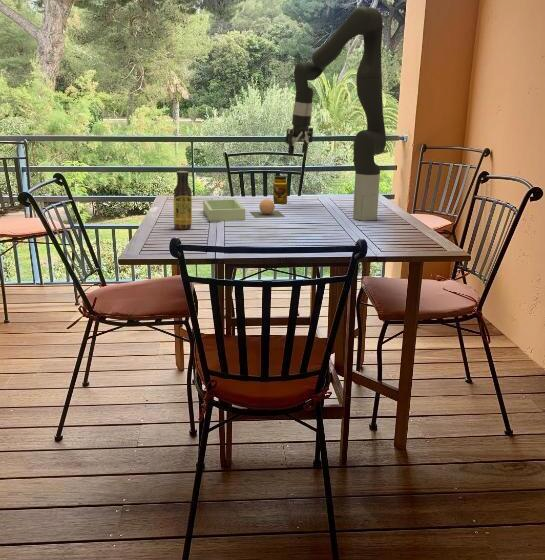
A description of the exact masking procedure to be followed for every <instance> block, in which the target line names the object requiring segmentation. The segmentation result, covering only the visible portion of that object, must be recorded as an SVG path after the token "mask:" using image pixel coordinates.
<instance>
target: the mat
mask: <svg viewBox="0 0 545 560" xmlns="http://www.w3.org/2000/svg"><path fill="white" fill-rule="evenodd" d="M249 213H250V215H252V216H253V218H255V219H258V218H260V219H261V218H262V219H263V218H285V217H286V216H285V214H283V213H281V211H279V210H274V211H273V212H272V213H271V214H263V213H262V212H261V211H249Z"/></svg>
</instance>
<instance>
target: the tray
mask: <svg viewBox="0 0 545 560" xmlns="http://www.w3.org/2000/svg"><path fill="white" fill-rule="evenodd" d="M202 209H203V210H202V211H203V213H204V215H205V217H206V219H207V220H208V222H209V223H221V222H227V221H246V208H245V207H244V206H243V205H242V204H241V203H240V202H239V200H237V199H235V198H234V199H233V198H230V199H228V198H226V199H204V200H202Z"/></svg>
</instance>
